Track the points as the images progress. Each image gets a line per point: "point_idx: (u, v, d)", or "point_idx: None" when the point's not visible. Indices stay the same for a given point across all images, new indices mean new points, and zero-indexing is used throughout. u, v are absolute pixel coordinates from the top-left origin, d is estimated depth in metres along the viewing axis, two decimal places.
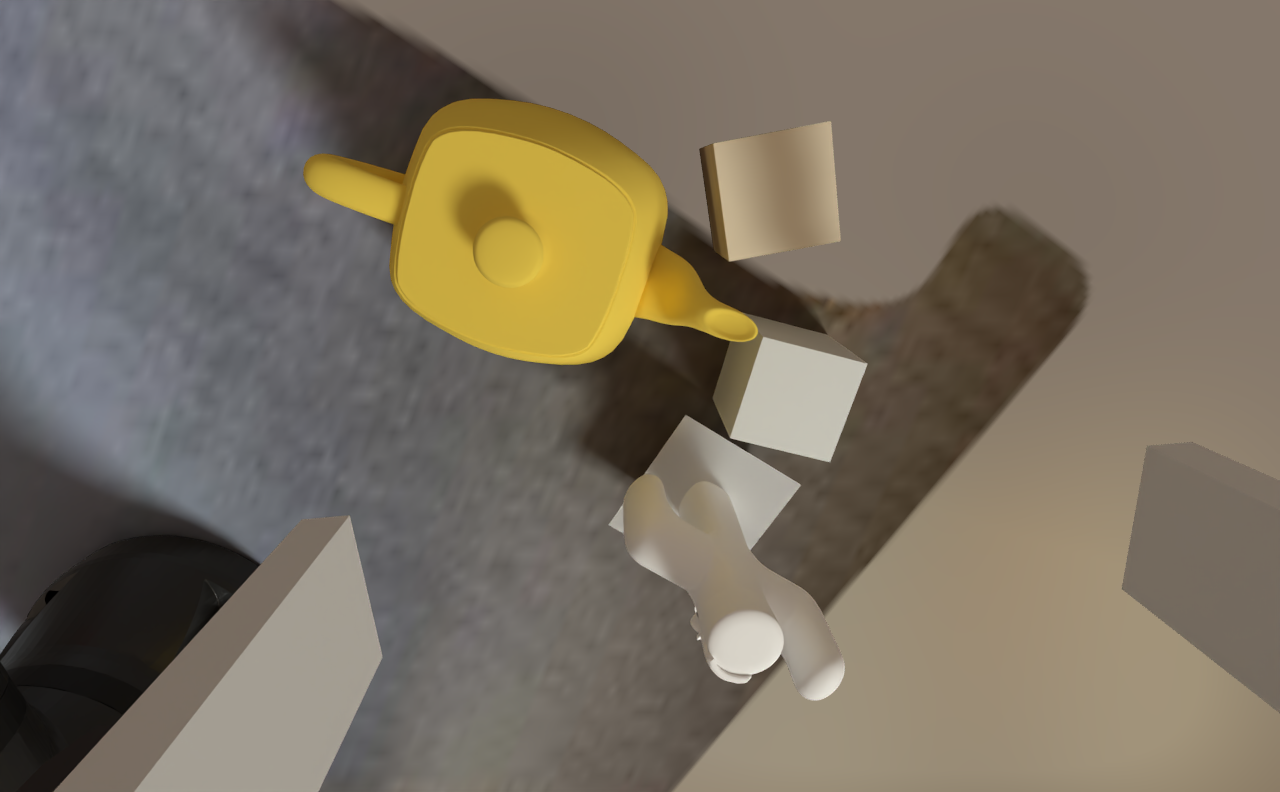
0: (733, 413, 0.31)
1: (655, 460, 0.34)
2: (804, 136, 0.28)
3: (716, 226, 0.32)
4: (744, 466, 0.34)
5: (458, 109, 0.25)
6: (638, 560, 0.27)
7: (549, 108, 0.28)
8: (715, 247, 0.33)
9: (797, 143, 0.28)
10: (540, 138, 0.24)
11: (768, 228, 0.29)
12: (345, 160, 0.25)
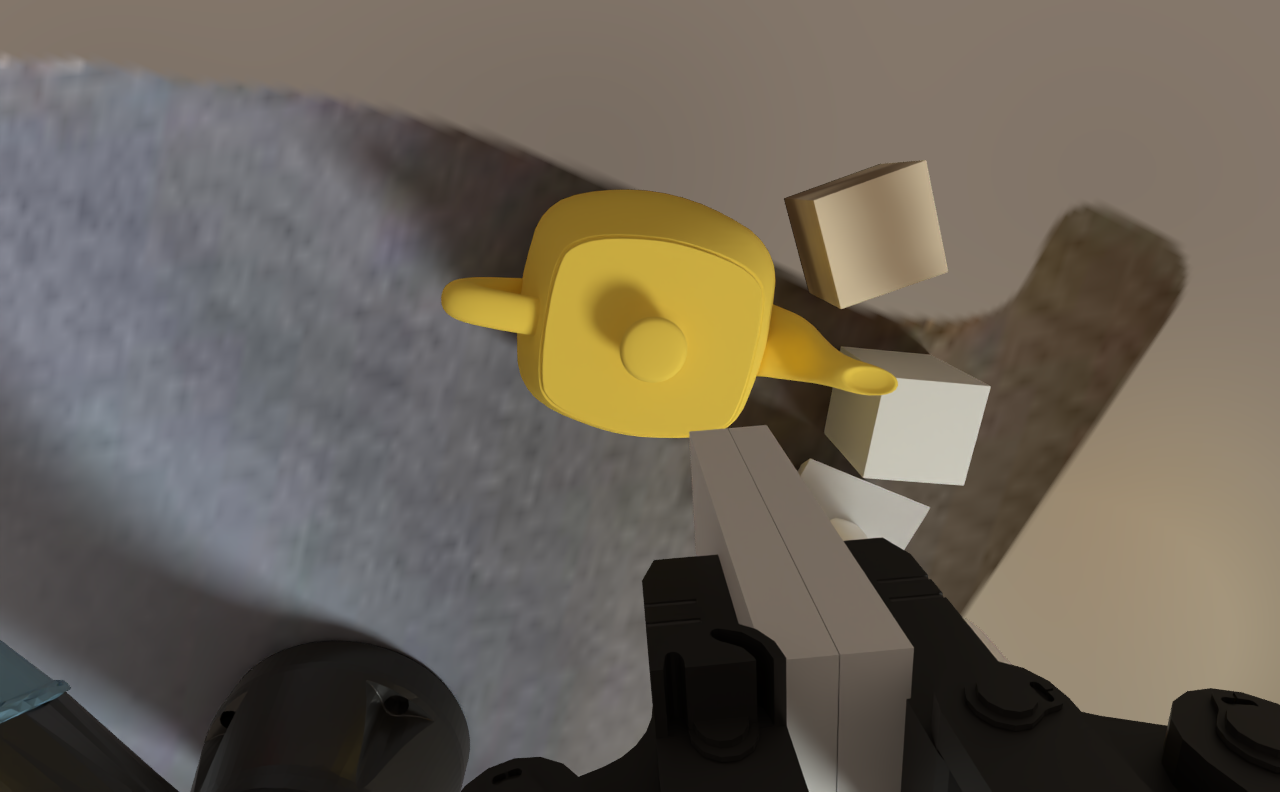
0: (861, 453, 0.32)
1: None
2: (901, 179, 0.28)
3: (815, 273, 0.32)
4: (873, 498, 0.34)
5: (575, 215, 0.26)
6: None
7: (650, 194, 0.28)
8: (812, 290, 0.34)
9: (895, 186, 0.28)
10: (663, 234, 0.25)
11: (875, 272, 0.29)
12: (475, 281, 0.26)
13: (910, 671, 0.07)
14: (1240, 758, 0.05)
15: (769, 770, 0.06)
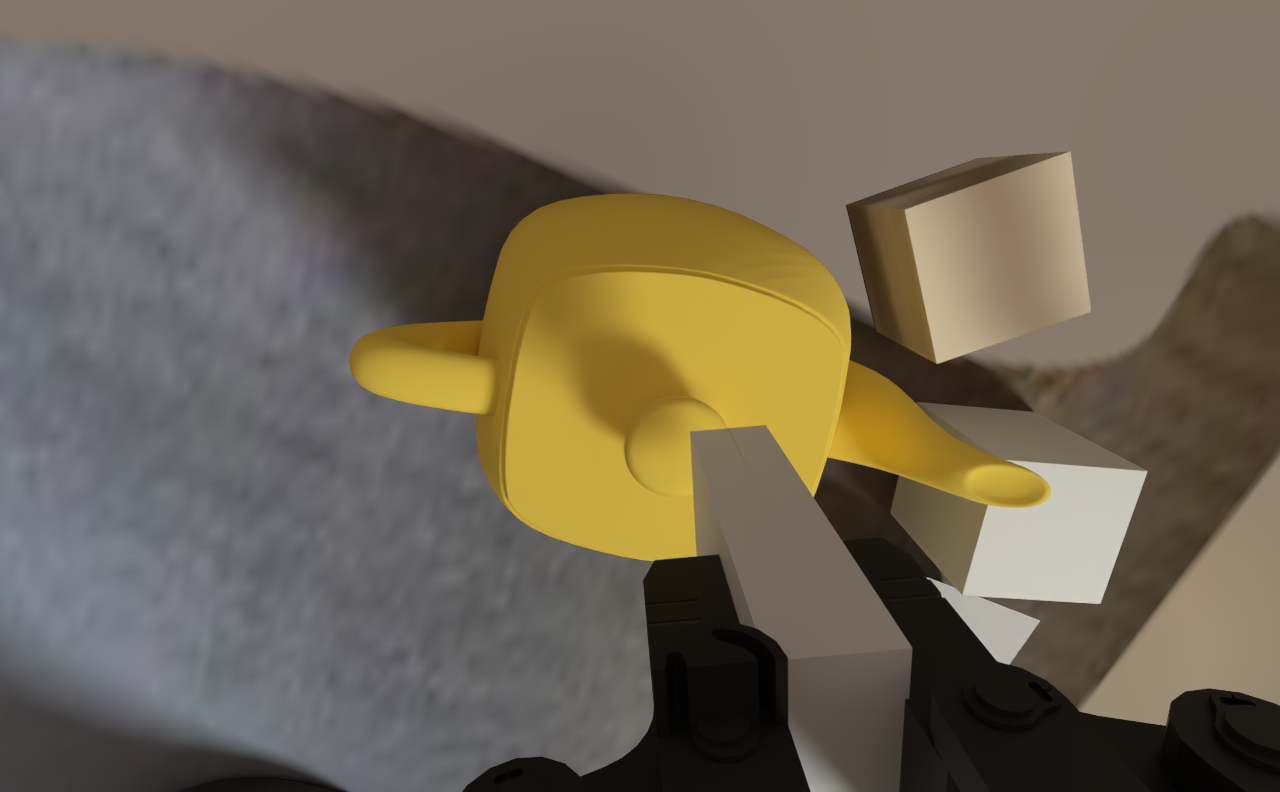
0: (958, 558, 0.23)
1: None
2: (1032, 179, 0.19)
3: (893, 308, 0.23)
4: (964, 609, 0.25)
5: (555, 234, 0.17)
6: None
7: (667, 200, 0.19)
8: (883, 330, 0.25)
9: (1023, 189, 0.20)
10: (693, 263, 0.16)
11: (988, 311, 0.21)
12: (404, 333, 0.17)
13: (908, 671, 0.07)
14: (1239, 758, 0.05)
15: (770, 770, 0.06)
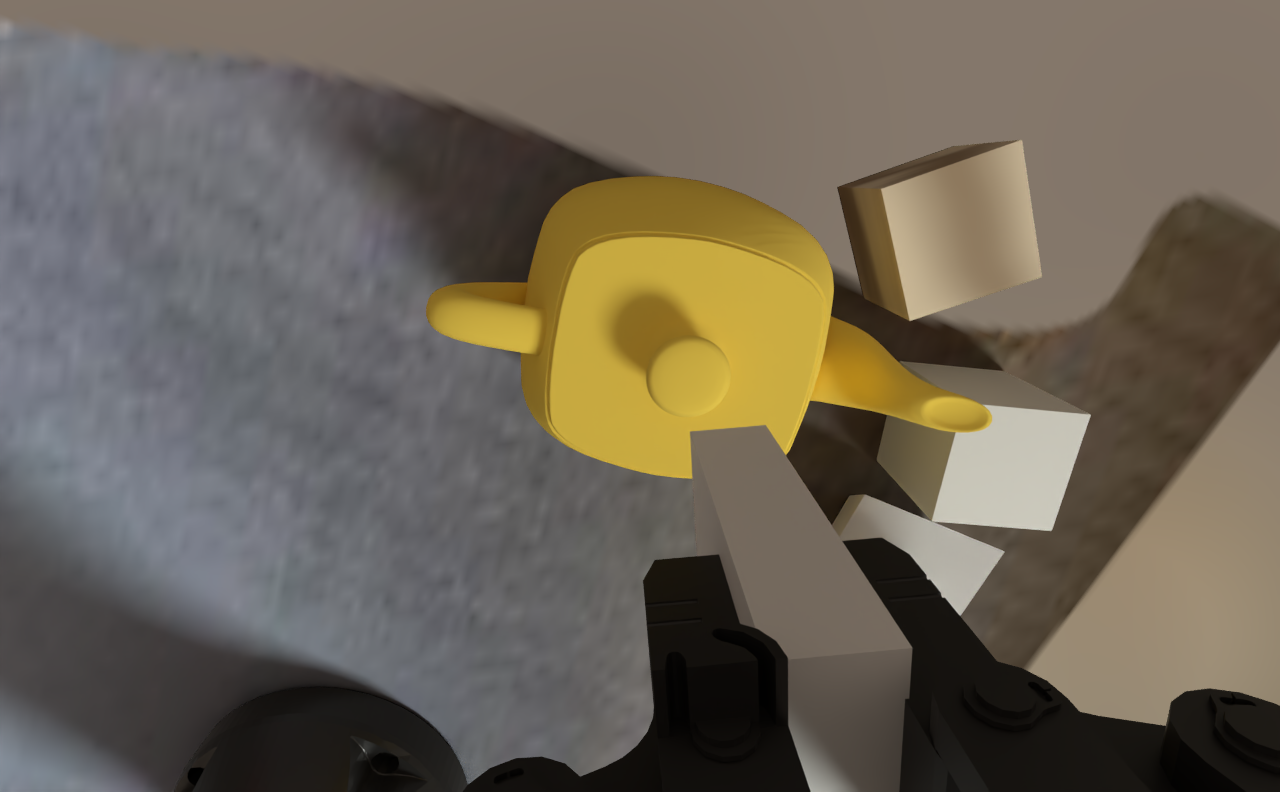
0: (929, 491, 0.27)
1: None
2: (990, 163, 0.23)
3: (876, 276, 0.27)
4: (937, 540, 0.29)
5: (590, 208, 0.21)
6: None
7: (682, 181, 0.23)
8: (869, 296, 0.29)
9: (982, 172, 0.23)
10: (702, 231, 0.20)
11: (953, 276, 0.24)
12: (468, 288, 0.22)
13: (908, 672, 0.07)
14: (1238, 758, 0.05)
15: (770, 770, 0.06)
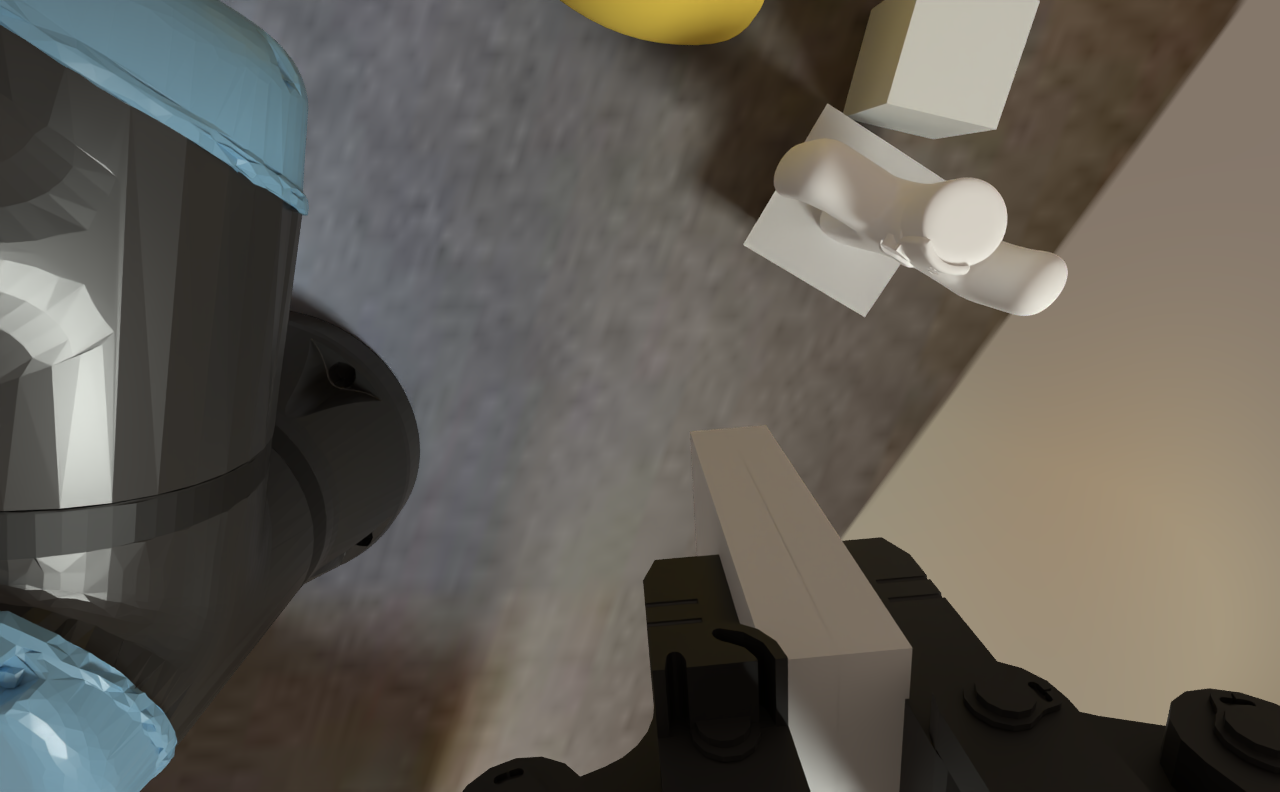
0: (887, 81, 0.28)
1: None
2: None
3: None
4: (891, 164, 0.31)
5: None
6: (816, 187, 0.24)
7: None
8: None
9: None
10: None
11: None
12: None
13: (908, 671, 0.07)
14: (1238, 759, 0.05)
15: (770, 770, 0.06)
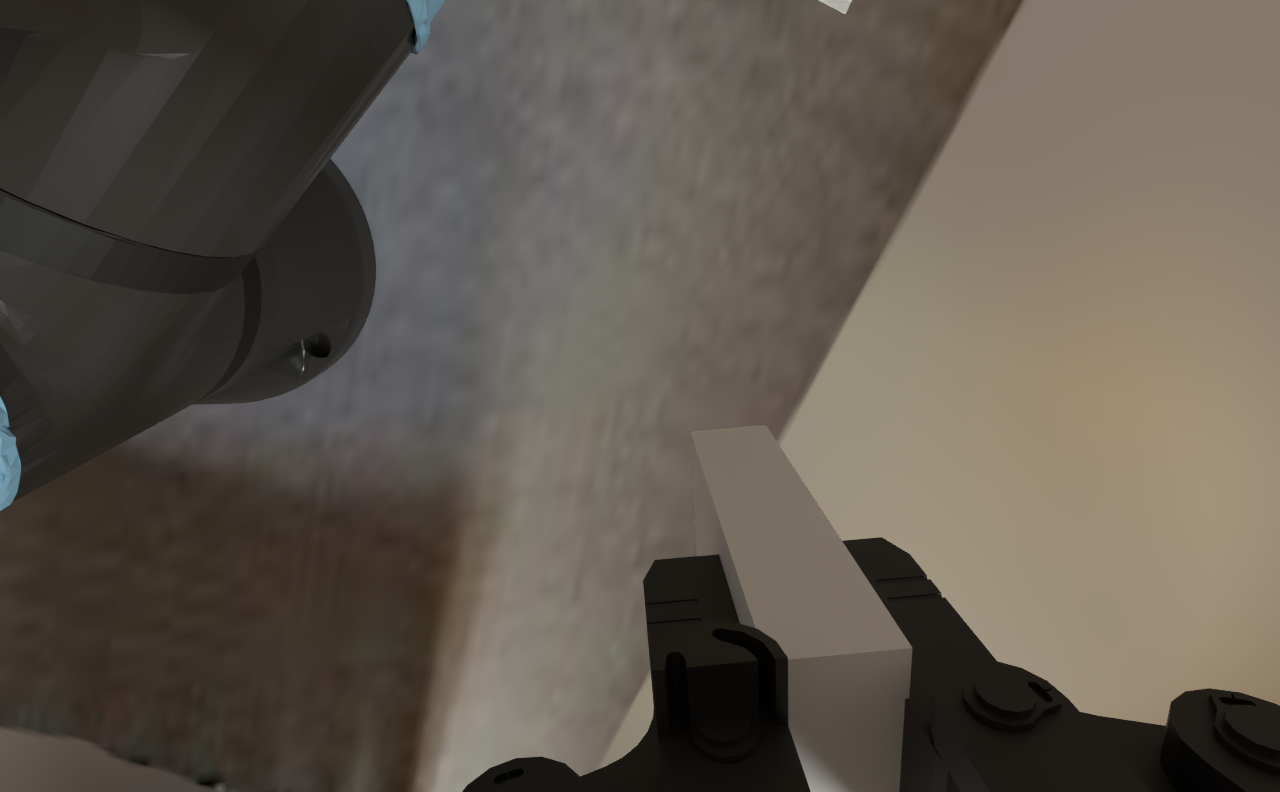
0: None
1: None
2: None
3: None
4: None
5: None
6: None
7: None
8: None
9: None
10: None
11: None
12: None
13: (908, 672, 0.07)
14: (1238, 759, 0.05)
15: (771, 770, 0.06)
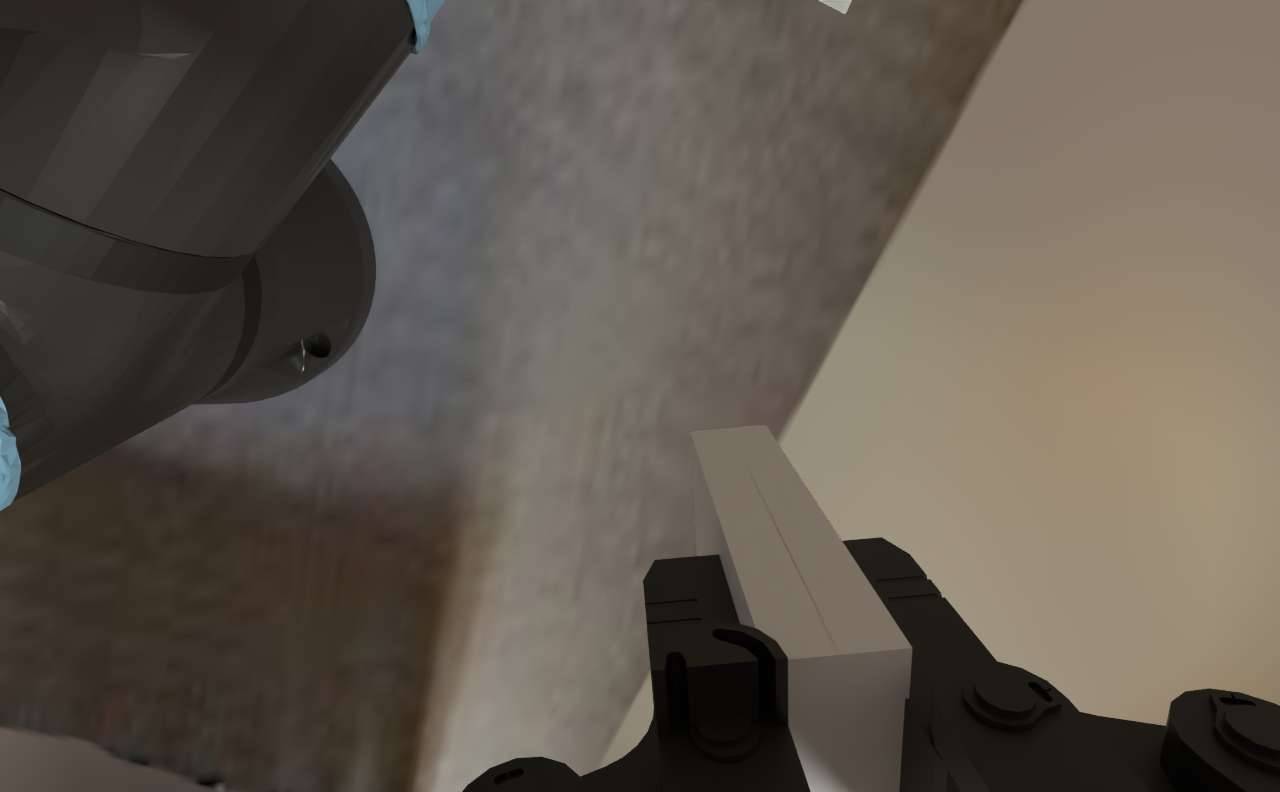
0: None
1: None
2: None
3: None
4: None
5: None
6: None
7: None
8: None
9: None
10: None
11: None
12: None
13: (908, 672, 0.07)
14: (1239, 758, 0.05)
15: (771, 770, 0.06)
